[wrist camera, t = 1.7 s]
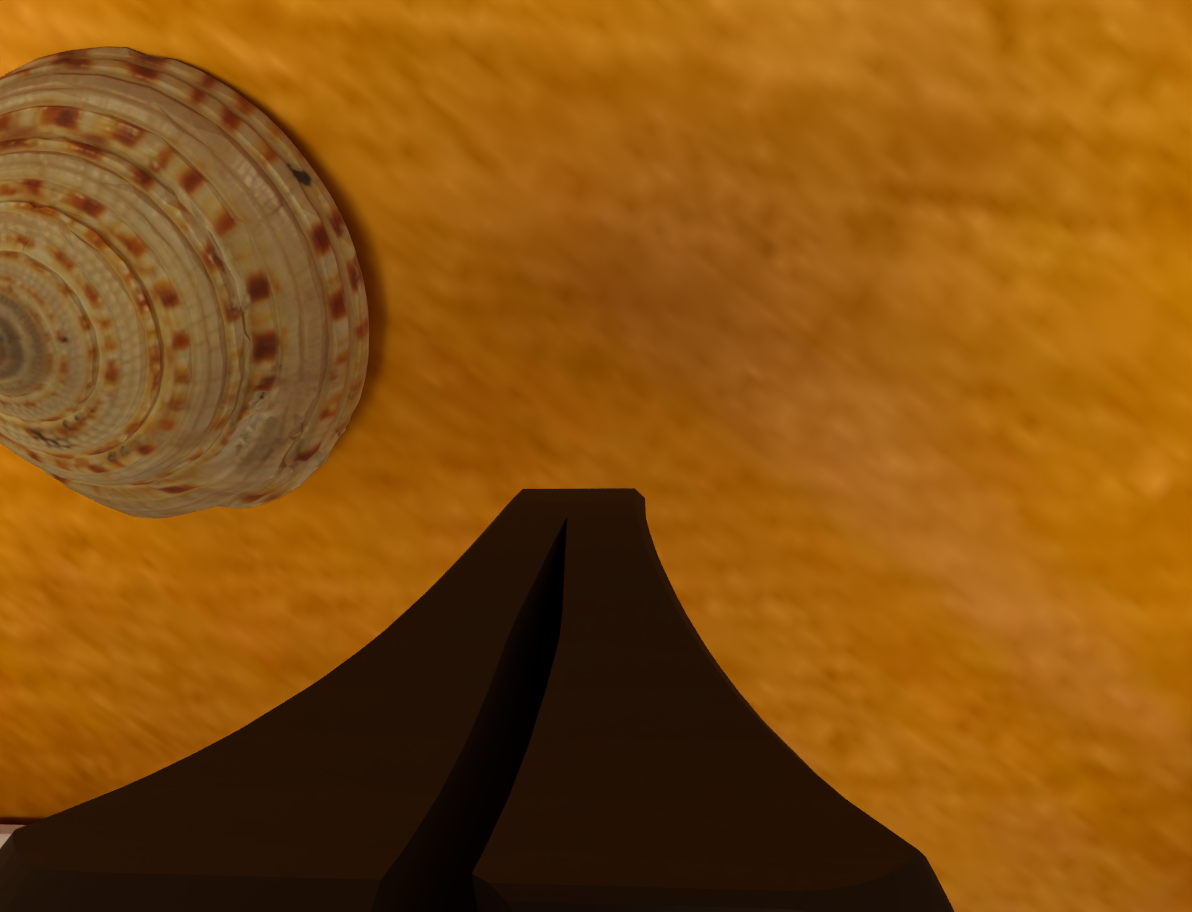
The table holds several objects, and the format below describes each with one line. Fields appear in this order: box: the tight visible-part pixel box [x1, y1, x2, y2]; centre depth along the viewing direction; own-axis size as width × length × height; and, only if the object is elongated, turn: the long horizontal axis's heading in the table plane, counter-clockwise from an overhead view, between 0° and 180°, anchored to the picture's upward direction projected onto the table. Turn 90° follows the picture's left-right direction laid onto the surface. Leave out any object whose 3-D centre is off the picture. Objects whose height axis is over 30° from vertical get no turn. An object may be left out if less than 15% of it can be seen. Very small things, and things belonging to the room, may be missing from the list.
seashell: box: [0, 47, 369, 518], centre depth 21 cm, size 8×6×8 cm
